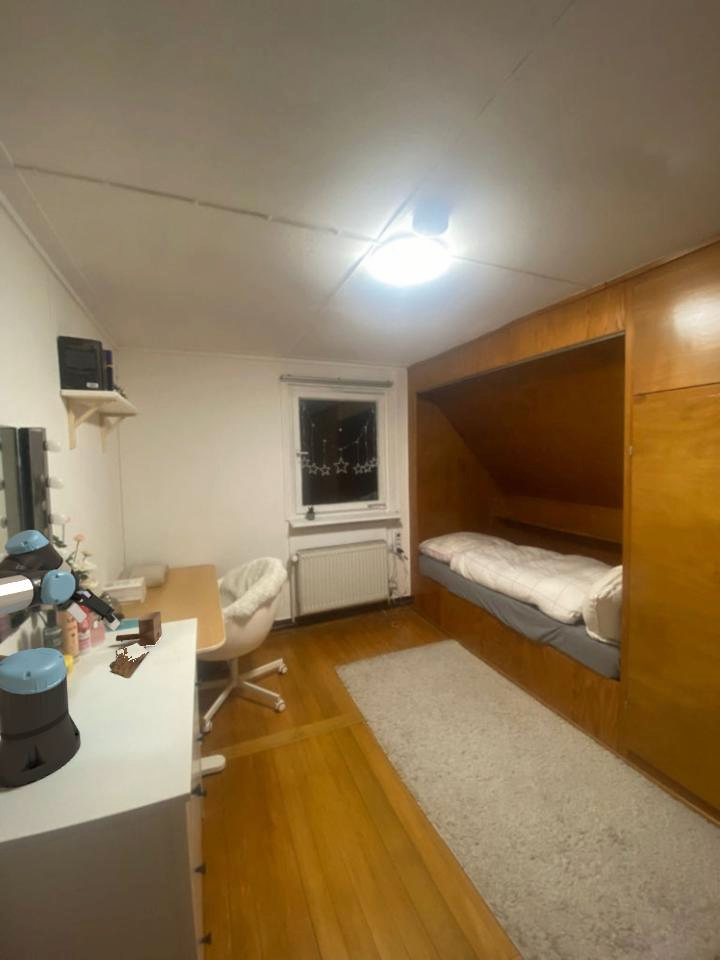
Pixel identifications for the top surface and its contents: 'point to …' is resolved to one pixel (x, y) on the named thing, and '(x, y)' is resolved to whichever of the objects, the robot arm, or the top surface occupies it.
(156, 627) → the marking gauge
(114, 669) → the wooden fragment
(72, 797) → the top surface
